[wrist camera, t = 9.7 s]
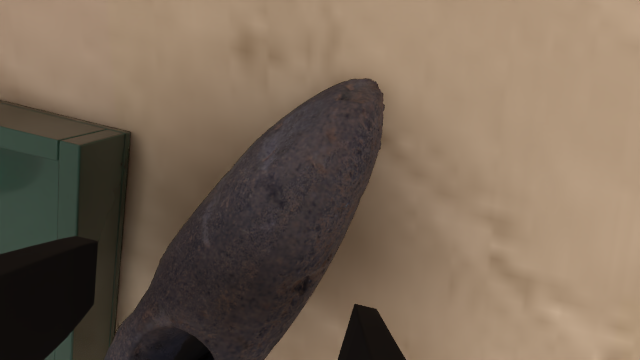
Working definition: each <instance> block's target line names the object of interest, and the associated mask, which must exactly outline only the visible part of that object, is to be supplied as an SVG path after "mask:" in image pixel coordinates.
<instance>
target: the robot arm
mask: <svg viewBox="0 0 640 360" xmlns="http://www.w3.org/2000/svg"><path fill="white" fill-rule="evenodd" d="M97 251H98V241H95V240H91V239H87V238H83V237H79V236H73V237H67V238H62V239H58V240H54V241H49V242H45V243H41V244H37V245H33V246H30V247H26V248H22V249H18V250H14V251H10V252H6V253H3V254H0V360H44V359H45V358H46V357H47V356H49V355H50V354H51V353H52V352H53V351H54V350H55V349H56V348H57V347H58V346H59V345H60V344H61V343H62V342H63V341H64V340H65V339H66V338H67V337H68V336H69V335H70V333H71V332H72V331H73V330H74V329H75V327H76V326H77V325H78V324H79V323H80V322H81V320H82V319H83V318H84V317H85V315H86V314H87V313H88V311H89V310H90V309H91V308H92V306H93V305H94V299H95V283H96V267H97ZM338 360H406V359H405V357H404V356H403V354H402V352H401V351H400V349H399V347H398V346H397V344H396V342H395V340H394V339H393V337H392V335H391V333H390V332H389V330H388V328H387V326H386V325H385V323H384V321H383V319H382V318H381V316H380V314H379V312H378V311H377V309H374V308H370V307H366V306H362V305H358V304H354V308H353V311H352V314H351V318H350V321H349V324H348V327H347V331H346V334H345V337H344V341H343V344H342V347H341V350H340V354H339V357H338Z"/></svg>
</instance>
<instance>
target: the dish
mask: <svg viewBox="0 0 640 360" xmlns="http://www.w3.org/2000/svg"><path fill="white" fill-rule="evenodd" d="M129 145H130V132H128V131H124V130H120V129H116V128H112V127H108V126H104V125H100V124H95V123H91V122H87V121H83V120H79V119H75V118H71V117H67V116H63V115H59V114H54V113H50V112H46V111H42V110H38V109H34V108H30V107H26V106H22V105H18V104H13V103H9V102H5V101H1V100H0V254H3V253H6V252H10V251H14V250H18V249H22V248H26V247H30V246H33V245H37V244H41V243H45V242H49V241H54V240H58V239H62V238H67V237H73V236H79V237H83V238H87V239H91V240H95V241H98V251H97V267H96V283H95V299H94V305H93V306H92V308H91V309H90V310H89V311H88V313H87V314H86V315H85V317H84V318H83V319H82V320H81V322H80V323H79V324H78V325H77V326H76V327H75V329H74V330H73V331H72V332H71V333H70V335H69V336H68V337H67V338H66V339H65V340H64V341H63V342H62V343H61V344H60V345H59V346H58V347H57V348H56V349H55V350H54V351H53V352H52V353H51V354H50V355H49V356H47V357H46V358H45V359H44V360H104V359H105V356H106V353H107V351H108V348H109V347H110V345H111V343H112V342H113V340H114V333H115V321H116V308H117V295H118V283H119V270H120V258H121V245H122V233H123V220H124V208H125V195H126V183H127V170H128V158H129Z"/></svg>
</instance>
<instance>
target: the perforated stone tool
mask: <svg viewBox="0 0 640 360" xmlns="http://www.w3.org/2000/svg"><path fill="white" fill-rule="evenodd" d="M384 107H385V105H384V104H383V93H382V92H381V90H380V89H379V87H378V84H377V83H376V82H374V81H372V80H371V79H366V78H365V79H351V80H348V81H345V82H342V83H339V84H336V85H334V86H332V87H330V88H328V89H326V90H324V91H322V92H321V93H319V94H317V95H316V96H314V97H312V98H311V99H309V100H307V101H306V102H304V103H303V104H301V105H300V106H298V107H297V108H296V109H294V110H293V111H291V112H290V113H289V114H288V115H286V116H285V117H283V118H282V119H281V120H280V121H278V122H277V123H276V124H275V125H274V126H272V127H271V128H270V129H269V130H267V131H266V132H265V133H264V134H263V135H262V136H261V137H260V138H258V139H257V140H256V141H255V142H254V143H253V144H252V145H251V146H250V147H249V149H248V150H247V151H246V152H245V153H244V154H243V155H242V156H241V157H240V158H239V160H238V161H237V162H236V163H235V164H234V166H233V167H232V169H231V170H230V171H229V172H228V173H227V174H226V175H225V176H224V177H223V178H222V179H221V180H220V182H219V183H218V184H217V185H216V186H215V187H214V188H213V190H212V191H211V192H210V193H209V194H208V196H207V197H206V198H205V199H204V200H203V202H202V203H201V204H200V205H199V207H198V208H197V209H196V210H195V212H194V213H193V214H192V216H191V217H190V218H189V219H188V221H187V222H186V223H185V224H184V226H183V227H182V228H181V230H180V231H179V232H178V234H177V235H176V236H175V238H174V239H173V240H172V242H171V243H170V244H169V246H168V248H167V249H166V251H165V253H164V254H163V256H162V258H161V259H160V263H159V265H158V268H157V270H156V273H155V275H154V278H153V280H152V282H151V284H150V286H149V289H148V290H147V292H146V293H145V295H144V296H143V298H142V299H141V301H140V302H139V304H138V305H137V307H136V309H135V310H134V311H133V313H131V314H130V315H129V316H128V317H127V318H126V319H125V320H124V322H123V323H122V324H121V325H120V327H119V329H118V330H117V332H116V334H115V337H114V340H113V342H112V343H111V345H110V347H109V348H108V351H107V353H106V356H105V359H104V360H264V359H265V358H266V357H267V355H268V354H269V353H270V351H271V350H272V349H273V347H274V346H275V345H276V344H277V343H278V342H279V341H280V339H281V338H282V337H283V335H284V334H285V333H286V331H287V330H288V328H289V327H290V326H291V324H292V323H293V321H294V320H295V319H296V317H297V316H298V314H299V313H300V311H301V310H302V308H303V307H304V305H305V304H306V302H307V300H308V299H309V297H310V296H311V295H312V293H313V291H314V290H315V288H316V287H317V285H318V283H319V282H320V280H321V278H322V276H323V275H324V273H325V272H326V270H327V268H328V266H329V264H330V263H331V261H332V259H333V257H334V255H335V254H336V252H337V250H338V248H339V246H340V244H341V242H342V240H343V238H344V236H345V234H346V232H347V229H348V226H349V225H350V222H351V220H352V219H353V216H354V214H355V211H356V209H357V207H358V204H359V201H360V198H361V196H362V194H363V193H364V191H365V189H366V186H367V184H368V182H369V179H370V176H371V173H372V170H373V168H374V164H375V161H376V158H377V154H378V152H379V150H380V146H381V141H380V140H381V135H382V126H383V111H384Z"/></svg>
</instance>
